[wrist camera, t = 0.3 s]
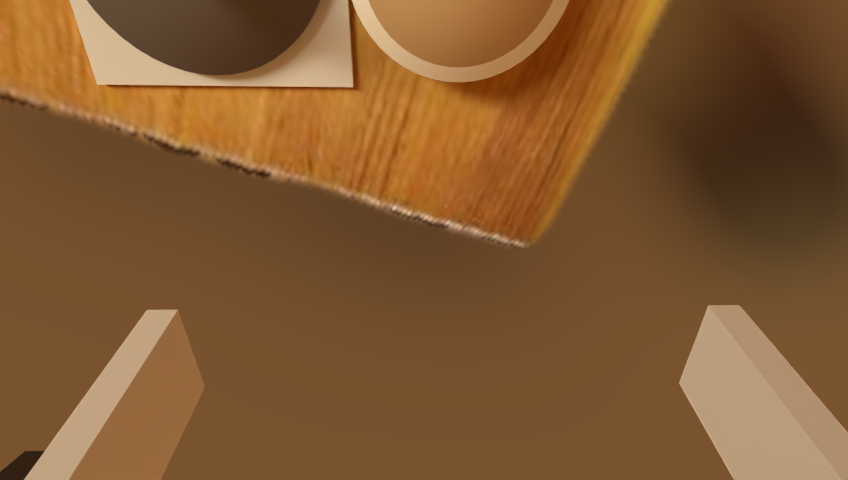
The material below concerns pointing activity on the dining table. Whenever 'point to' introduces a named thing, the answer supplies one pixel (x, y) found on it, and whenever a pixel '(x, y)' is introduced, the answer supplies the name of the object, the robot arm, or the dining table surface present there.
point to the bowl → (459, 33)
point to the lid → (209, 30)
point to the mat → (296, 67)
